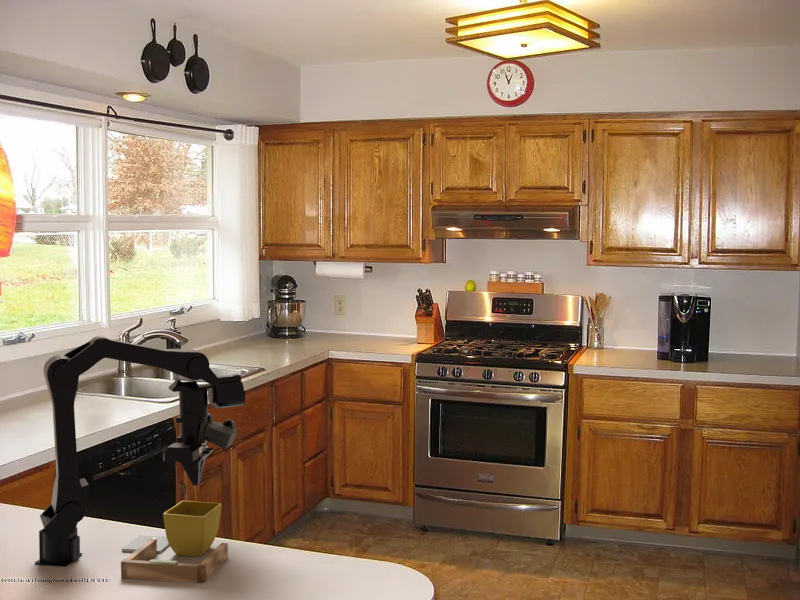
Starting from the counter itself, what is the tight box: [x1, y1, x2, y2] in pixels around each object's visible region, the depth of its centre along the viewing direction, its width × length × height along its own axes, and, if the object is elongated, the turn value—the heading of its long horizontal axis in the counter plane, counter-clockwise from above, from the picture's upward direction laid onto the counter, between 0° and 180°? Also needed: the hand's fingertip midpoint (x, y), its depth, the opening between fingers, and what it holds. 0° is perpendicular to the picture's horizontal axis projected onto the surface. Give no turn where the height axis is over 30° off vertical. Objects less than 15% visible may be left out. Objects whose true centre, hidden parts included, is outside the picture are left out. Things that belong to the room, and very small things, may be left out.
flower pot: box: [162, 500, 222, 557], centre depth 168 cm, size 9×9×9 cm
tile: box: [121, 535, 170, 555], centre depth 172 cm, size 8×8×1 cm
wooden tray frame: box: [120, 539, 229, 584], centre depth 160 cm, size 13×16×3 cm
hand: (196, 485), depth 176 cm, fingers closed
